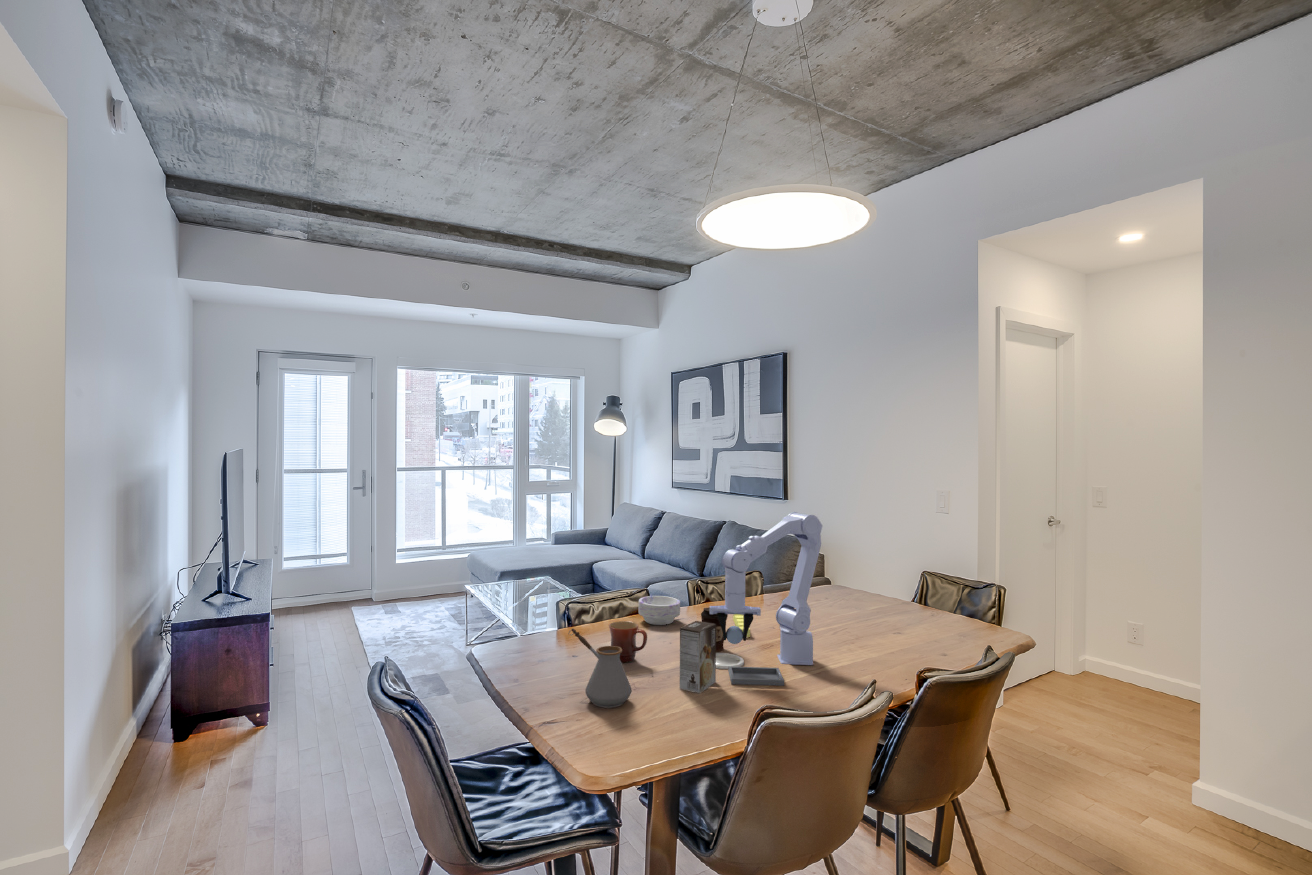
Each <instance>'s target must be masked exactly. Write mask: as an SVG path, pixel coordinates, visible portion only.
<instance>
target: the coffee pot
mask: <svg viewBox="0 0 1312 875" xmlns="http://www.w3.org/2000/svg"><path fill="white" fill-rule="evenodd" d="M570 632H572V633H571V636H573V635H574V637H577V638H578V640H579V641H580V642H581V643H582V645H584V646H585V647H586V648H587V649H588V650H589V651H590V652H591V653H592V654H593V655H594V656H595V657H596V658H597V662H596V663H595V666H594V669H593V671H592V673H591V676H590V678H589V680H588V683H587V684H586V687H585V689H584V690H585V695H586V697H587V698H588V700H589V701H590V702H592V704H593V705H595V706H596V707H598V708H604V709H608V708H609V709H610V708H617V707H620V706H622V705H624V704H625V702H626V701H628V699H629V698H630V696H631V695H632V694H631V693H632V692H633V691H632V687H631V683H630V682H629V679H628V676H627V674H626V671H625V669H624V666H623V663H621V661H620V658H619V657H620V653H621V652H622V649H621V647H617V646H611V645H604V646H600V647H598V648H596V650H595V649H594V648H593V647H592V645H591V644H590V643H589V642H588V640H586V638H585V637H583V635H581V634H580V632H578V631H577V630H576V629H574V628H572V629H570V630H569V631H568V635H570Z"/></svg>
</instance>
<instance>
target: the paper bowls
mask: <svg viewBox="0 0 1312 875" xmlns="http://www.w3.org/2000/svg"><path fill="white" fill-rule="evenodd" d="M638 614H639V615H640V617H643V619H644V622H646V623H647V624H648V625H649V624H650V625H655V626H665V625H666V624H667V625H670V624H672V623H673V622H674V621H675V619H676V618H677V617H679V616H680V614H681V600H680V599H679V598H675V597H672V596H667V595H649V596H643V597H640V598H639V599H638ZM667 625H666V626H667Z"/></svg>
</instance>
